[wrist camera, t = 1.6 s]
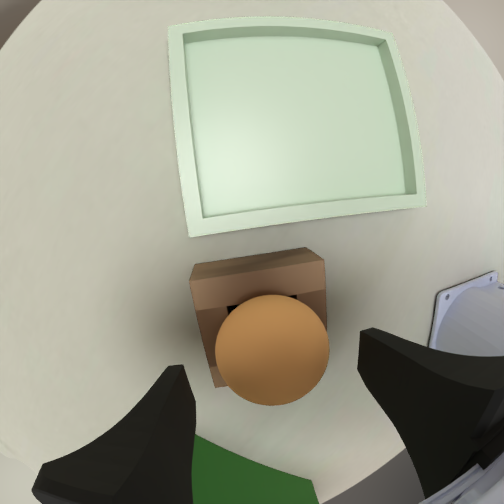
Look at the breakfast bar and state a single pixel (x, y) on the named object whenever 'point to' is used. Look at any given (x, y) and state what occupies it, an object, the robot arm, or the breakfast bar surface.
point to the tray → (290, 122)
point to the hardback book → (242, 479)
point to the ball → (272, 350)
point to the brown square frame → (253, 289)
